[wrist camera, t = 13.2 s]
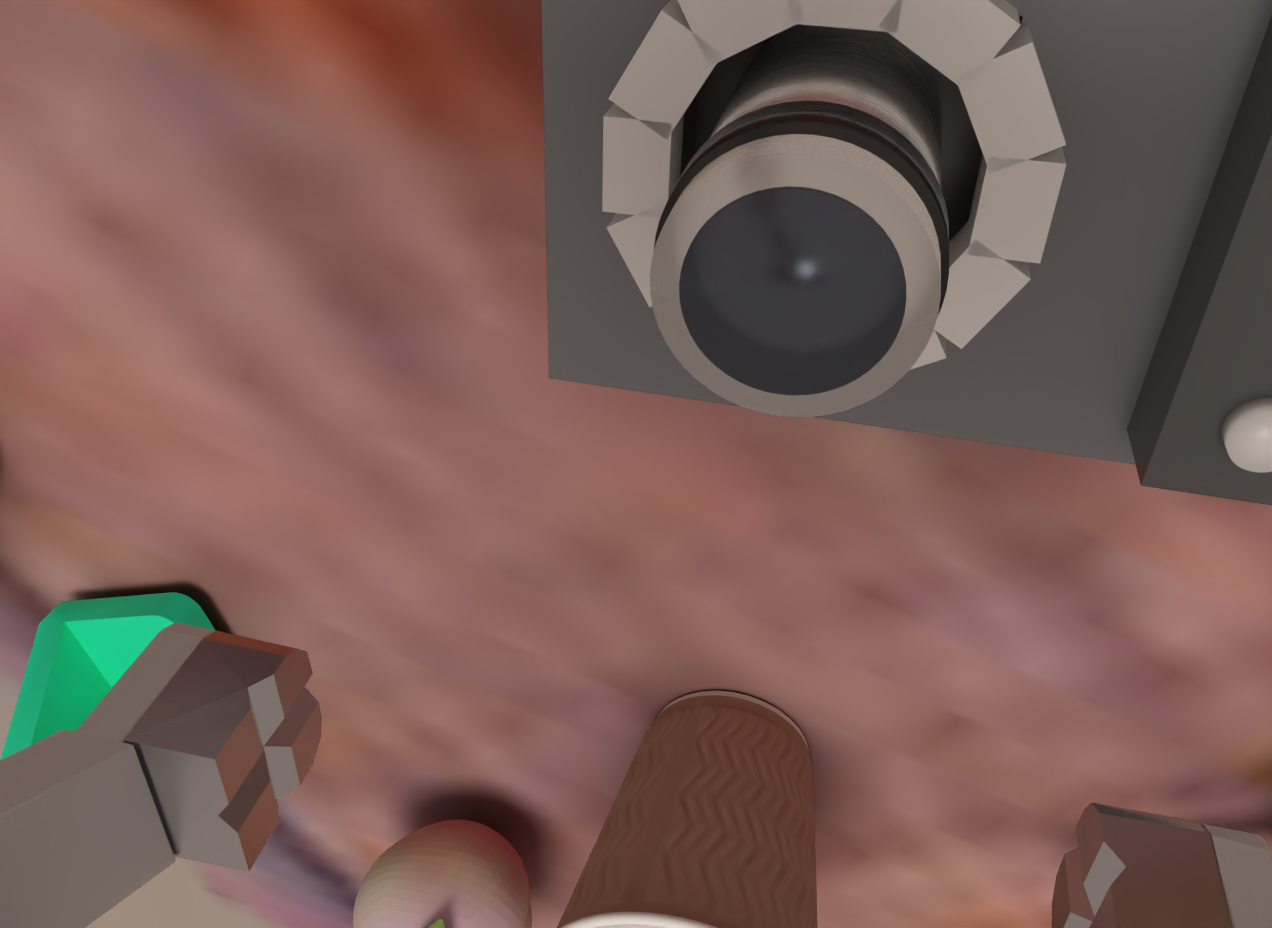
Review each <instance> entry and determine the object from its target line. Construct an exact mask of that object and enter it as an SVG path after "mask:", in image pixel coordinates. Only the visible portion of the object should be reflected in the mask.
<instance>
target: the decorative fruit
mask: <svg viewBox="0 0 1272 928" xmlns="http://www.w3.org/2000/svg"><path fill="white" fill-rule="evenodd" d="M529 897H530V889H529V880H528V876H527V872H526V869H525V867H524V865H523V863H522V860H521V858H520V857H519V855H518V853H517V852H516V850H515V849H514V847H513V846H512V845H511V844H510V843H509V842H508V841H507V840H506V839H505V838H504V837H503V836H502V835H500V834H499V833H498V832H496V831H495V830H493V829H491V828H490V827H488V826H485V825H483V824H481V823H477V822H474V821H468V820H445V821H441V822H437V823H434V824H431V825H428V826H425V827H423V828H420V829H418V830H416V831H414V832H412V833H410V834H409V835H407V836H405V837H404V838H402V839H401V840H399V841H398V842H397V843H395V844H394V845H393V846H391V847H390V848H389V849H388V850H387V851H385V852H384V853H383V854H382V855H381V856H380V857H379V858H378V859H377V860H376V862H375V863H374V864H373V865H372V867H371V868H370V870H369V872H368V873H367V875H366V877H365V879H364V881H363V883H362V885H361V887H360V889H359V891H358V894H357V897H356V901H355V906H354V914H353V928H532V913H531V907H530V902H529Z"/></svg>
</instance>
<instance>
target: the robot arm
mask: <svg viewBox="0 0 1272 928" xmlns="http://www.w3.org/2000/svg"><path fill="white" fill-rule="evenodd" d="M312 674H313V673H312V669H311V665H310V661H309V658H308V654H307V652H306V651H303V650H299V649H296V648H291V647H287V646H282V645H278V644H273V643H269V642H264V641H260V640H256V639H251V638H247V637H242V636H238V635H233V634H229V633H224V632H220V631H214V630H209V629H205V628H200V627H195V626H190V625H186V624H181V623H176V622H175V623H174V624H172V625H170V626H168V627H166V628H164V629H162V630H161V631H160V632H159V633H158V634H157V635H156V636H155V638H154V639H153V640H152V641H151V642H150V644H149V645H148V646H147V647H146V648H145V649H144V651H143V652H142V653H141V654H140V655H139V657H138V658H137V659H136V660H135V661H134V663H133V664H132V665H131V666H130V667H129V668H128V670H127V671H126V672H125V673H124V674H123V676H122V677H121V678H120V679H119V680H118V681H117V683H116V684H115V685H114V686H113V687H112V689H111V690H110V691H109V692H108V693H107V695H106V696H105V697H104V698H103V699H102V700H101V702H100V703H99V704H98V705H97V706H96V708H95V709H94V710H93V711H92V712H91V714H90V715H89V716H88V717H87V718H86V719H85V721H84V722H83V723H82V724H81V725H80V727H79V728H78V729H77V730H76V731H75V732H74V731H69V730H61V731H59V732H57V733H55V734H53V735H51V736H49V737H47V738H45V739H43V740H41V741H39V742H37V743H35V744H32V745H30V746H28V747H26V748H24V749H22V750H20V751H18V752H16V753H14V754H12V755H10V756H8V757H6V758H4V759H2V760H0V928H85V927H86V926H88V925H89V924H91V923H92V922H93V921H95V920H96V919H97V918H99V917H100V916H101V915H103V914H104V913H106V912H107V911H108V910H110V909H111V908H112V907H114V906H115V905H117V904H118V903H119V902H121V901H122V900H123V899H125V898H126V897H127V896H129V895H130V894H132V893H133V892H134V891H136V890H137V889H138V888H140V887H141V886H143V885H144V884H145V883H147V882H148V881H149V880H151V879H152V878H153V877H155V876H156V875H158V874H159V873H160V872H162V871H163V870H164V869H166V868H167V867H169V866H170V865H171V864H173V863H174V862H175V857H179V858H184V859H189V860H194V861H199V862H204V863H209V864H214V865H219V866H224V867H229V868H233V869H238V870H243V871H248V872H249V871H250V869H251V868H252V866H253V864H254V863H255V861H256V859H257V858H258V856H259V854H260V853H261V851H262V849H263V848H264V846H265V844H266V843H267V841H268V839H269V837H270V836H271V834H272V832H273V831H274V829H275V827H276V826H277V824H278V822H279V821H280V816H279V810H278V803H277V799H279V798H280V797H282V796H284V795H285V794H287V793H289V792H290V791H292V790H294V789H295V788H297V787H299V786H300V785H301V783H302V781H303V780H304V778H305V776H306V774H307V772H308V771H309V769H310V767H311V765H312V764H313V760H314V757H315V754H316V751H317V747H318V744H319V741H320V738H321V719H322V717H321V712H320V707H319V702H318V701H317V700H316V699H315V697H314V696H313V695H312V694H311V693H310V692H309V691H308V690H307V689H306V688H305V687H304V686H305V685H306V683H307V682H308V680H309V678H310V677H311V675H312ZM1077 832H1078V840H1079V847H1078V848H1076V849H1074V850H1072V851H1070V852H1068V853H1066V854H1065V855H1064V857H1063V860H1062V863H1061V865H1060V868H1059V871H1058V873H1057V876H1056V882H1055V888H1054V894H1053V900H1052V928H1272V855H1271V852H1270V849H1269V846H1268V844H1267V843H1266V842H1265V841H1264V839H1263V838H1262V837H1261V836H1260V835H1257V834H1252V833H1247V832H1242V831H1237V830H1231V829H1226V828H1221V827H1216V826H1211V825H1206V824H1199V823H1197V822H1195V821H1189V820H1184V819H1178V818H1173V817H1168V816H1162V815H1157V814H1151V813H1146V812H1140V811H1135V810H1129V809H1124V808H1118V807H1113V806H1107V805H1102V804H1096V803H1091V804H1090V805H1089V806H1087V807H1086V808H1085V809H1084V811H1083V813H1082V815H1081V818H1080V820H1079V822H1078V824H1077Z"/></svg>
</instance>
